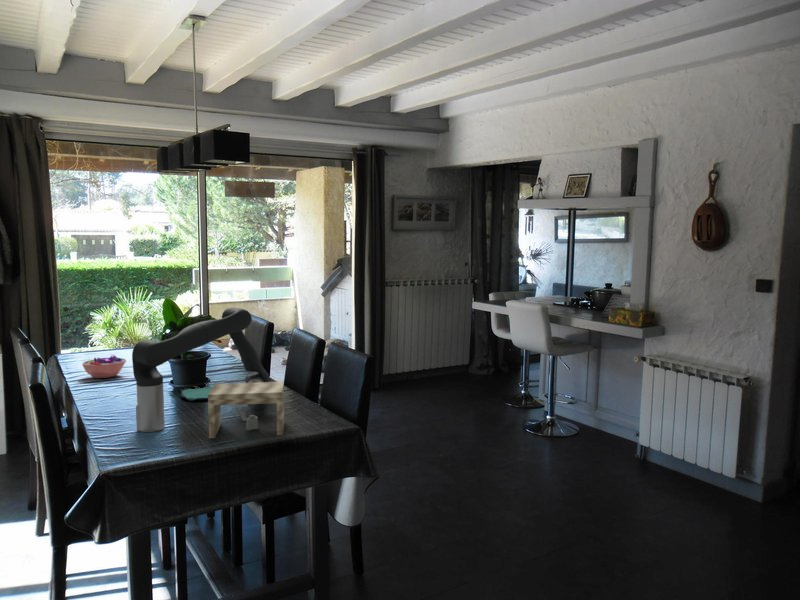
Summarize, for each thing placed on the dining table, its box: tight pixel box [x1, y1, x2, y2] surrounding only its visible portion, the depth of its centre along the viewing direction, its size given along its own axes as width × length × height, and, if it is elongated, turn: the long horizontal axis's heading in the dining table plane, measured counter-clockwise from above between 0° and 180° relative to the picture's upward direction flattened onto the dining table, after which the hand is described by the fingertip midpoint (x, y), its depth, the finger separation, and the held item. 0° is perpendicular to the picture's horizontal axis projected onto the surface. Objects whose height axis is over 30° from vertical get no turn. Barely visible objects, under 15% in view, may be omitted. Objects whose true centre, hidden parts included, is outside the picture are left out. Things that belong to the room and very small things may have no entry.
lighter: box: [237, 409, 259, 431], centre depth 230 cm, size 7×2×8 cm, turn 125°
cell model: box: [81, 354, 127, 379], centre depth 310 cm, size 17×20×11 cm
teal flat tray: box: [179, 383, 213, 402], centre depth 281 cm, size 20×30×2 cm, turn 30°
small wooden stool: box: [207, 381, 285, 439], centre depth 229 cm, size 26×16×16 cm, turn 99°
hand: (251, 400), depth 242 cm, fingers open, 8 cm apart
